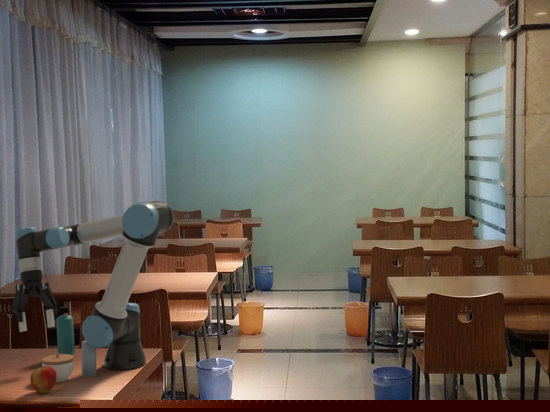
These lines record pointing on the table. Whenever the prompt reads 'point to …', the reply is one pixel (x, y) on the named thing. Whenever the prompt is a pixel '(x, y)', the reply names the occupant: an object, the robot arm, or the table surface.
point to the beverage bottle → (65, 332)
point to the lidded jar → (60, 365)
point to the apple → (43, 379)
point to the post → (88, 360)
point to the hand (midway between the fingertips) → (37, 329)
